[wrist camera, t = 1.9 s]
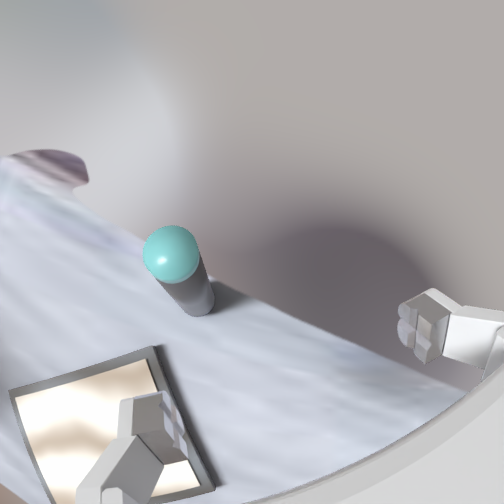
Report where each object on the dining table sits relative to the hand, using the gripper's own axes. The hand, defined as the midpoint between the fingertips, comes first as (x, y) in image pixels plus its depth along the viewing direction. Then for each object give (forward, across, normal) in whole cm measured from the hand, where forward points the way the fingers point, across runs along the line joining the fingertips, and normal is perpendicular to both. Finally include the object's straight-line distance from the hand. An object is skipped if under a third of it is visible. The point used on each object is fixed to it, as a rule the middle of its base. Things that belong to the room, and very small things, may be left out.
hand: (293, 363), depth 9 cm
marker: (+19, -3, -8) cm, 21 cm away
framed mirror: (+12, -18, -16) cm, 26 cm away
